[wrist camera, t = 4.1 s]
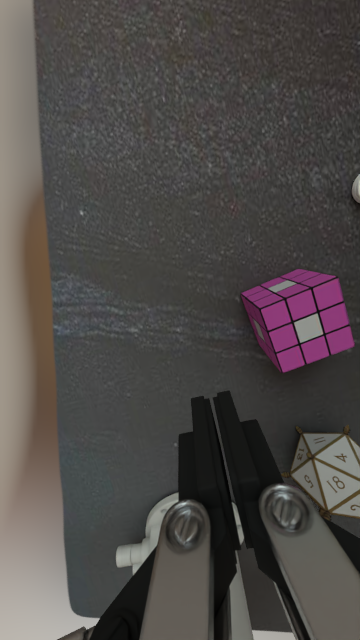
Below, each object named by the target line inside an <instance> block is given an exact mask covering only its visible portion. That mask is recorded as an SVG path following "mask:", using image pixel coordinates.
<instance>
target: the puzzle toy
mask: <svg viewBox="0 0 360 640" xmlns="http://www.w3.org/2000/svg"><path fill="white" fill-rule="evenodd" d="M241 298H242V300H243V303H244V306H245V308H246V311H247V314H248V316H249V319H250V322H251V324H252V327H253V329H254V332H255V335H256V338H257V340H258V343H259V345H260V346H261V348H262V349H263V350H264V352H265V353H266V354H267V355H268V357H269V358H270V359H271V360H272V361H273V363H274V364H275V365H276V367H277V368H278V369H279V370H280V372H281V373H285V372H288V371H290V370H293V369H296V368H298V367H301V366H304V365H305V364H309V363H312V362H314V361H317V360H320V359H322V358H325V357H328V356H329V355H333V354H336V353H339V352H341V351H344V350H347V349H349V348H352V347H354V346H355V344H354V339H353V335H352V331H351V327H350V325H349V319H348V315H347V311H346V307H345V303H344V302H343V300H344V299H343V295H342V290H341V286H340V282H339V278H338V277H336V276H331V275H326V274H321V273H317V272H312V271H307V270H302V269H297V270H295V271H292V272H290V273H288V274H285V275H283V276H281V277H280V278H279V277H278V278H276V279H273V280H271V281H269V282H266V283H264V284H262V285H260V286H257V287H254V288H252V289H250V290H247V291H245V292H243V293H241Z"/></svg>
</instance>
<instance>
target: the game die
mask: <svg viewBox="0 0 360 640" xmlns="http://www.w3.org/2000/svg"><path fill="white" fill-rule="evenodd" d="M296 431H298V433H300V434H301V435H300V439H299V442H298V446H297V449H296V453H295V456H294V460H293V463H292V467H291V470H290V473H287V472H284V473H283V474H281V476H283V477H285V478H287V477H292V479H293V480H294V481H295V482H296V483H297V484H298V485H299V486H300V487H301V488H302V489H303V490H304V491H305V492H306V493H307V494H308V495H309V496H310V497H311V498H312V499H313V501H314V502H315V503H316V504H317V505H318V506H319V507H320V509H319V511H318V512H319V514H320V515H321V516H323V517H324V518H325V519H327V520H329V521H331V519H330V518H331V516H330V514H332V515H339V516H345V517H352V518H358V519H360V446H359V445H358V444H357V443H356V442H355V441H354V440H353V439H352V438H351V437H350V436H348V433H350V432H349V431H350V429H349V426H348V425H347V426H346V427H344V429H343V431H344V433H303V432H302V430H301V429H300V428H299V427H297V426H296Z"/></svg>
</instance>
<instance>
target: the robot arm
mask: <svg viewBox="0 0 360 640" xmlns="http://www.w3.org/2000/svg"><path fill="white" fill-rule="evenodd" d="M217 395H218V397H213V400H214V405H215V410H216V415H217V419H218V424H219V429H220V433H221V438H222V443H223V447H224V452H225V457H226V462H227V466H228V471H229V476H230V480H231V485H232V489H233V493H234V497H235V502H236V505H235V504H234V503H233V502H232V500H231V495H230V490H229V485H228V480H227V475H226V470H225V465H224V460H223V455H222V450H221V446H220V442H219V438H218V434H217V429H216V425H215V421H214V417H213V413H212V409H211V405H210V400H209V398H208V399H204V396H200V397H195V398H191V406H192V420H193V432H188V433H183V434H179V470H178V493H175V494H172V495H170V496H168V497H166V498H164V499H163V500H161V501H160V502H158V503H157V504H156V505H155V506H154V507H153V508H152V510H151V511H150V513H149V515H148V518H147V523H146V530H145V531H146V538H144V539H143V541H142V543H137V544H127V545H121V546H118V548H117V552H116V564H117V567H125V566H132V565H133V576H132V578H131V579H130V580H129V582H128V583H127V584H126V586H125V587H124V588H123V589H122V591H121V592H120V593H119V595H118V596H117V597H116V598H115V600H114V601H113V602H112V604H111V605H110V606H109V607H108V609H107V610H106V611H105V613H104V614H103V615H102V616H101V618H100V620H99V621H98V623H97V624H96V626H94V627H92V628H90V629H87V630H86V628H85V627H82V628H80V629H78V630H76V631H74V632H72V633H70V634H68V635H66V636H64V637H62V638H60V639H58V640H253V634H252V629H251V623H250V618H249V613H248V607H247V602H246V597H245V591H244V586H243V581H242V575H241V570H240V565H239V559H238V554H237V550H241V544H242V542H243V540H244V539H245V544H246V548H247V549H249V548H254V552H255V557H256V561H257V564H258V568H259V569H260V570H261V571H262V572H264V573H265V574H266V575H267V576H268V577H269V578H270V579H272V580H273V581H274V585H275V588H276V590H277V593H278V595H279V598H280V601H281V603H282V606H283V608H284V611H285V613H286V616H287V618H288V621H289V623H290V626H291V629H292V631H293V634H294V636H295V638H296V640H360V538H358V537H356V536H354V535H353V534H351V533H349V532H348V531H346V530H344V529H342V528H341V527H339V526H337V525H336V524H334V523H332V522H330V521H329V520H327V519H325V518H324V517H322V516H321V515H320V514H319V512H318V511H317V509H316V508H315V506H314V505H313V503H312V502H311V500H310V499H309V498H308V497H307V496H306V494H305V493H304V492H302V491H301V490H300V489H298V488H297V487H295V486H292V485H290V484H286V483H284V481H283V479H282V477H281V474H280V472H279V470H278V467H277V465H276V463H275V460H274V458H273V456H272V453H271V451H270V449H269V447H268V444H267V442H266V440H265V437H264V435H263V433H262V430H261V428H260V426H259V423H258V421H257V420H256V419H255V420H250V421H244V422H240V421H239V418H238V415H237V412H236V409H235V406H234V403H233V400H232V397H231V394H230V391H224V392H219V393H217Z"/></svg>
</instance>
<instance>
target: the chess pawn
mask: <svg viewBox="0 0 360 640" xmlns="http://www.w3.org/2000/svg"><path fill="white" fill-rule="evenodd" d="M352 195H353V198H354V199H355V200H356V201H357V202H358V203H360V174H359V175H358V176H357V178H356V179H355V181H354V183H353V186H352Z"/></svg>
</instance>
